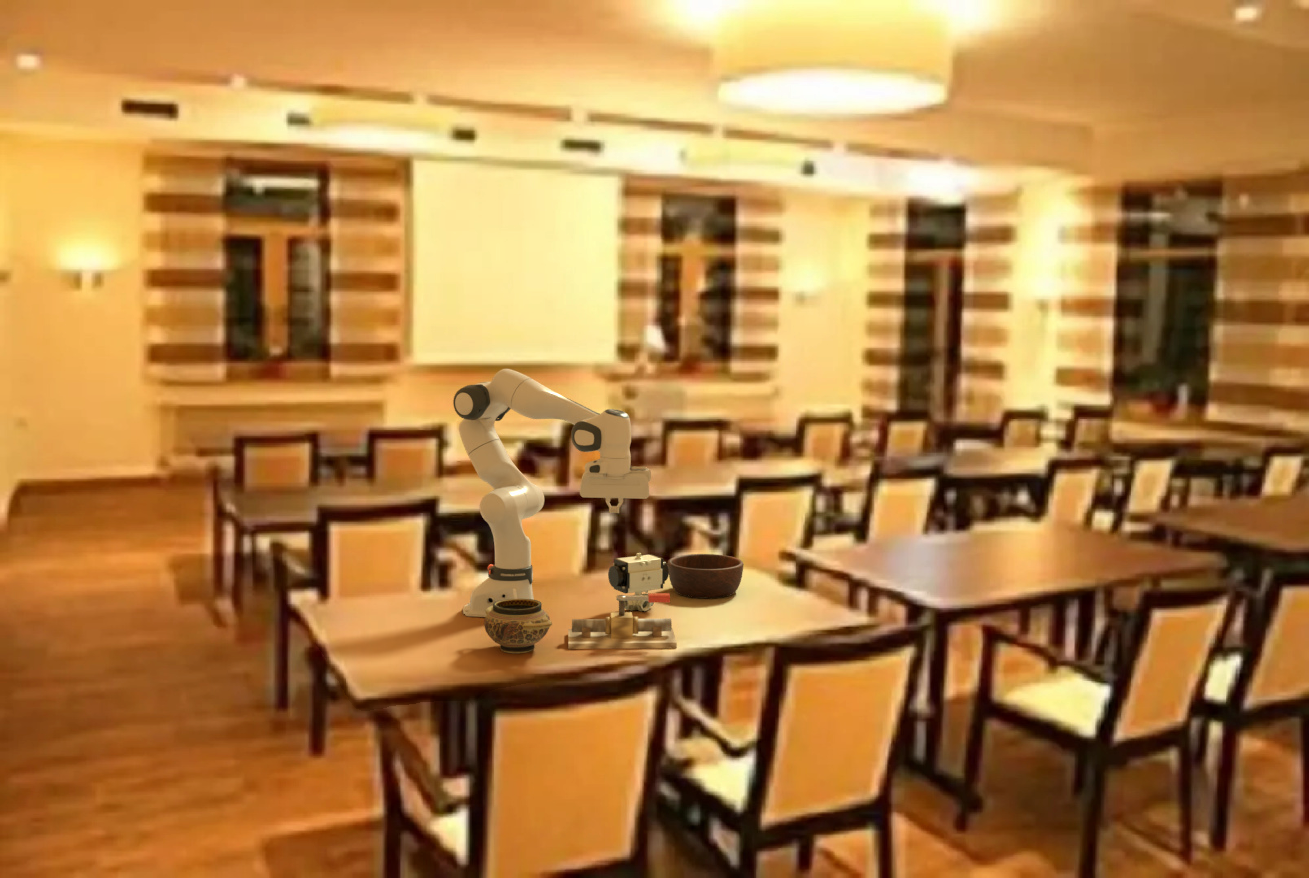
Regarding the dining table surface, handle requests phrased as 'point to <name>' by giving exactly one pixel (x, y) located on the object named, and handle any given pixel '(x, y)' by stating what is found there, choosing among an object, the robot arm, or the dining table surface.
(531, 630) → the ceramic bowl
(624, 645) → the pipe board
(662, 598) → the valve lever
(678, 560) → the wooden bowl
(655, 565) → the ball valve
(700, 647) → the dining table surface
